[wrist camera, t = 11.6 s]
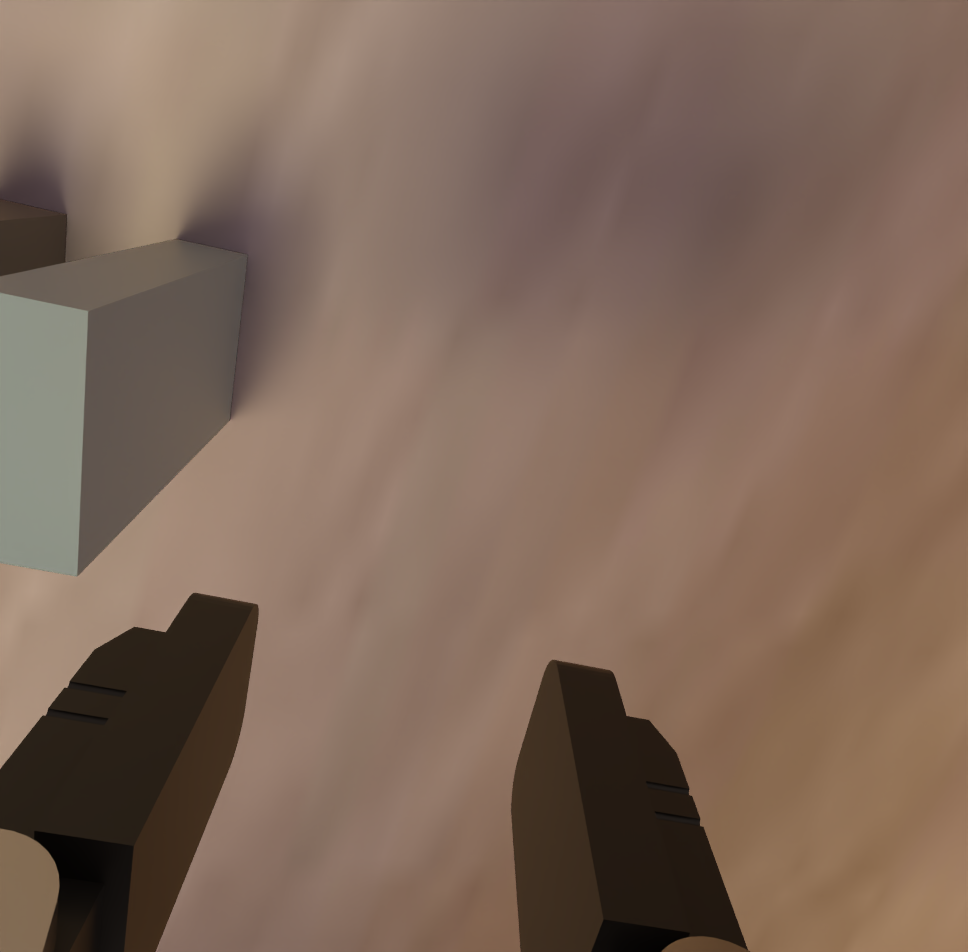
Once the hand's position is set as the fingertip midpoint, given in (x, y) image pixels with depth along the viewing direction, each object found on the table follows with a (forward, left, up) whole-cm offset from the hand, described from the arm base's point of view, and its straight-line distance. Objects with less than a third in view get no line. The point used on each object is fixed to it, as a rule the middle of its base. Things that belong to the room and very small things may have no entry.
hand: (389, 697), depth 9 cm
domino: (0, +7, -15) cm, 17 cm away
